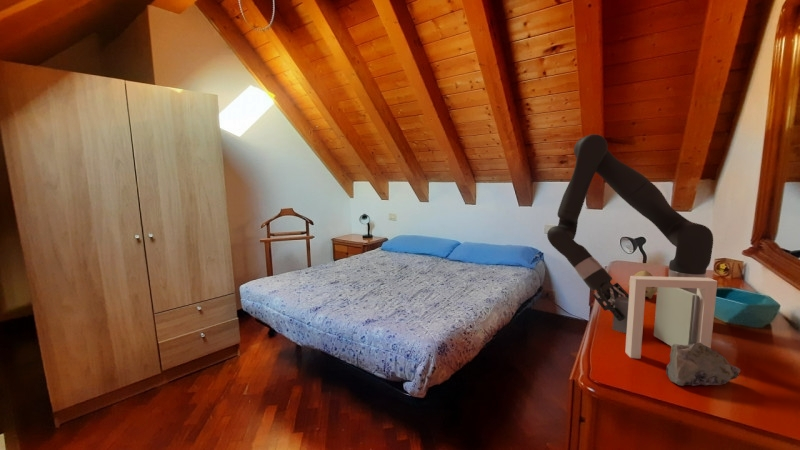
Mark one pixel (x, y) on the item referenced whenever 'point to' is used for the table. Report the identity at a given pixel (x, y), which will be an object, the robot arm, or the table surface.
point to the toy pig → (649, 290)
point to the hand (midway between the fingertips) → (628, 316)
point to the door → (676, 316)
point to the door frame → (639, 284)
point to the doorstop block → (623, 307)
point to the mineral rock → (699, 366)
